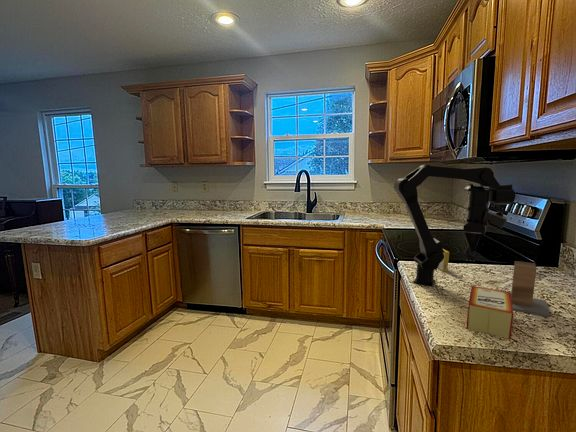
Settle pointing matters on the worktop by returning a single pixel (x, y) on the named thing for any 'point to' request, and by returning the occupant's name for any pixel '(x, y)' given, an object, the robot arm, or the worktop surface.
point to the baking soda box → (490, 312)
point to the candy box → (444, 262)
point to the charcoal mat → (534, 308)
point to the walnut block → (523, 283)
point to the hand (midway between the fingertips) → (474, 248)
